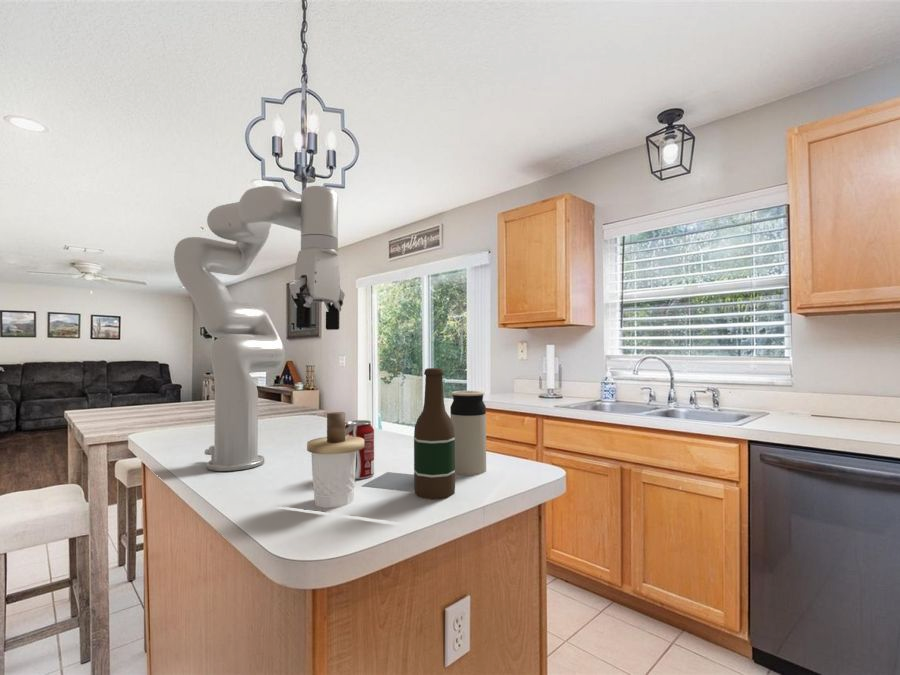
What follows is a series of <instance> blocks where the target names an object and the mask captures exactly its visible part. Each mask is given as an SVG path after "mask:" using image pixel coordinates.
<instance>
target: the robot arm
mask: <svg viewBox="0 0 900 675" xmlns="http://www.w3.org/2000/svg"><path fill="white" fill-rule="evenodd" d="M206 223H207V226H208V228H209V230H210V231H211V232H212V233H213V234H214V235H215V236H217V237H219V238H221V239H224V240H228V241H232V242H235V243H230V242H226V241H221V240H217V239H211V238H207V237H200V236H192V237H191V236H190V237H185V238H183V239H181V240H180V241H178V242H177V244H176V246H175V247H174V253H173V254H174V255H173V262H174V268H175V272H176V275H177V277H178V280H179V281H180V284H182V286H183V287H184V288H185V290H186V292H187V293H188V294H189V296H190V298H191V300H192V302H193V305H194V307H195V309H196V311H197V314H198V317H199V318H200V320H201V323H202V324H203V325H202V326H203V327H204V329H205V331H206V332H207V333H208V335H209V336H211V337H213V338H215V340H214V341H213V342H212V344H211V346H210V351H209V354H210V357H209V358H210V361H211V367H212V372H213V379H214V381H213V382H214V384H213V385H214V441H213V443H214V445H210V446H209V447H208V448H206V449H205V450H204V452H203V453H204V455H207V456H210V457H211V459H210V460H209V461H207V463H206V468H207V469H208V470H210V471H215V472H233V471H241V470H242V471H243V470H247V469H252V468H253V469H254V468H256V467H259V466H261V465H264V463H265V457H264V456H263V455H260V454H258V453H259V452H258V451H259V450H258V448H259V447H258V446H259V445H258V444H259V442H258V441H259V426H258V425H259V391H258V387H257V384H256V383H255V381H254V379H253V378H252V376H251V374H252V373H267V372H268V373H269V372H275V371H276V370H278V369H280V368H281V367H282V366H284V365H283V364H284V362H285V358H286V351H285V346H284V344H283V341H282V339H281V337H280V335H279V333H278V331H277V329H276V327H275V325H274V323H273V321H272V319H271V316H270V315H269V313H268V312H267V311H266V310H265V308H263V307H262V306H260V305H258V304H255V303H250V302H249V303H248V302H239V301H236V300H234V299H233V298H232V295H231V294H230V293H229V291H228V288H227V287H226V285H225V284H224V283H223V282H222V281H221V280H220V279H219V278H218V277H216V276H215V275H214V274H213V273H215V274H220V275H228V276H240V275H242V274H244V273H245V272H246V271H247V270H248V269H249V268H250V267H251V266H252V265H251V264H252V263H253V262H254V260H255V259H256V258H257V256H258V255H259V253H260V251H261V250H262V249H263V247H264V246H265V244H266V242H267V240H268V238H269V236H270V231H271V230H270V229H271V227H272V224H274V225H277V226H281V227H285V228H288V229H292V230H294V231H295V230H296V231H299V232H300V250H299V251H298V253H297V257H296V262H295V263H296V264H295V269H294V270H295V271H294V281H292V282H289V284H288V287H289V290H290V293H291V298H292V301H293V302H294V303H293V305H294V307H295V308H296V318H295V319H296V323H295V325H296V328H297V329H302V328H303V329H305V328H306V329H309V328H311V327H312V307H310V305H311V304H312V302H314V303H324V305H325V308H326V309H327V311H325V329H326V330H327V331H331V330H332V331H333V330H340V312H341V311H342V306H343V305H344V300H345V293H344V291H343V290H342V289H341V281H340V280H341V279H340V278H341V277H340V266H339V260H338V259H339V258H338V256H339V255H338V253H339V247H338V246H339V236H338V235H339V233H338V232H339V197H338V194H337V192H336V191H335V190H334V189H332V188H330V187H326V186H321V185H311V186H307V187H305V188H304V189H303V190H302V191H301V194H298V193H295V192H292V191H290V190H288V189H283V188H280V187H278V186H274V185H273V186H272V185H264V186H263V185H262V186H258V187H252V188H250V189H247V190H246V191H245V192H243V194H242V195H241V197H240V198H239V201H237V202H232V203H226V204H221V205H218V206H216V207H214V208H212V209H211V211H209V212H208V215H207V217H206Z"/></svg>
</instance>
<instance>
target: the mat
mask: <svg viewBox="0 0 900 675" xmlns="http://www.w3.org/2000/svg"><path fill="white" fill-rule="evenodd" d="M361 487H366V488H374V489H383V490H384V489H385V490H390V491H391V490H392V491H393V490H394V491H400V492H401V491H403V492H409V493H410V492H411V493H412V492H413V491H415V489H414V473H412V474H410V473H401V472H393V471H392V472H389V471H386V472H384V473H383V474H381V475H379V476H377V477H375V478H374V479H371V480H369V481H368V482H366V483H364V484H362V485H361Z"/></svg>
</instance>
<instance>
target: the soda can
mask: <svg viewBox="0 0 900 675" xmlns="http://www.w3.org/2000/svg"><path fill="white" fill-rule="evenodd" d="M345 436H354V437H360V438H363V439H364V448H363V449H361V450H358V451H356V472H355V481H356V480H365V479H369V478H371V477H373V476H374V474H375V428H374V427H373V426H372V421H371V420H366V419H357V420H355V419H354V420H347V421H345Z"/></svg>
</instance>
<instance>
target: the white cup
mask: <svg viewBox="0 0 900 675" xmlns="http://www.w3.org/2000/svg"><path fill="white" fill-rule="evenodd" d="M311 469H312V470H311V472H312V488H313V501H314V502H313V503H314V506H316V507H319V508H329V509H332V508H341V507H344V506H345V507H346V506H348V505H351V503H353V502H354V492H355V491H354V490H355V486H356V485H355V482H356V480H355V472H356V451H355V452H350V453H342V454H316V453H311Z"/></svg>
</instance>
